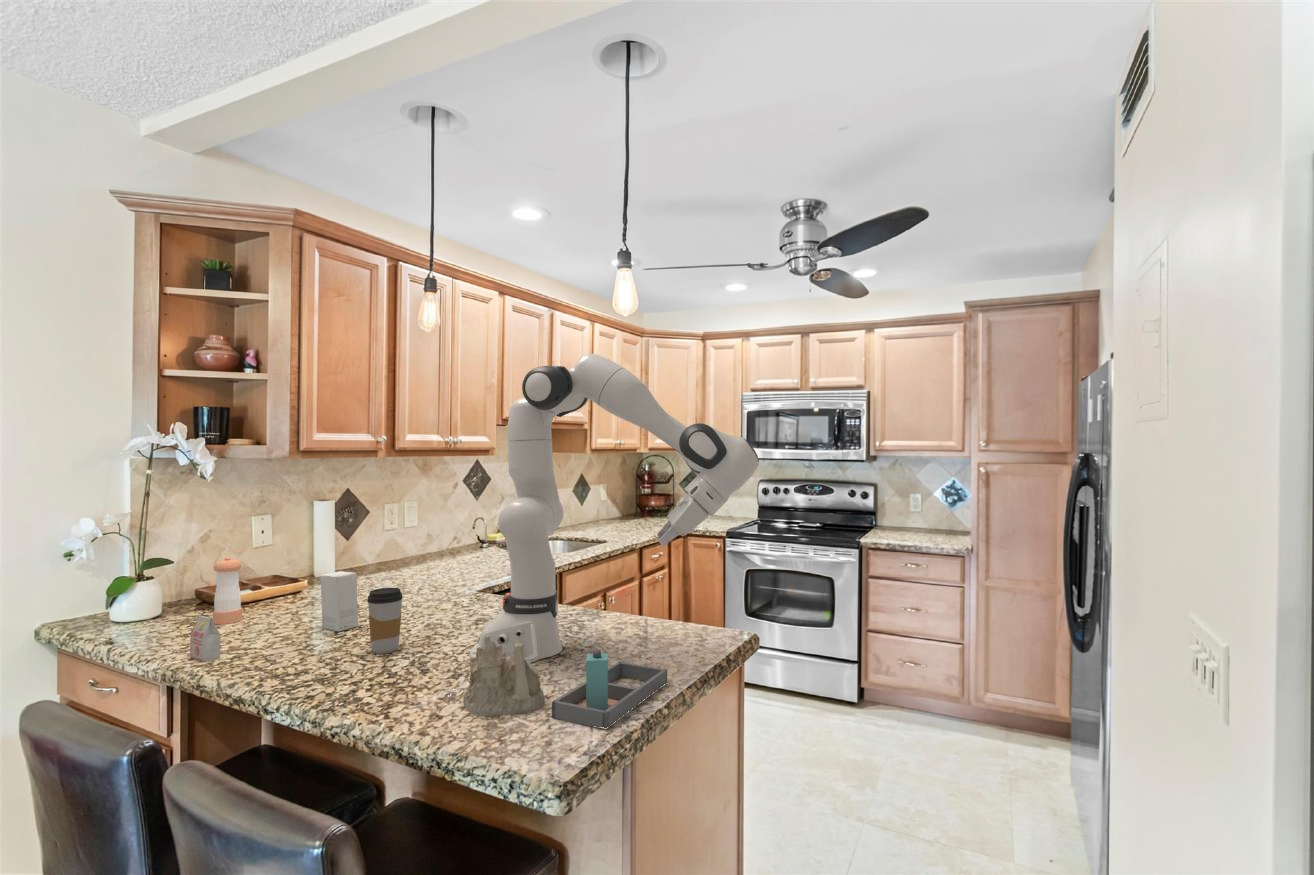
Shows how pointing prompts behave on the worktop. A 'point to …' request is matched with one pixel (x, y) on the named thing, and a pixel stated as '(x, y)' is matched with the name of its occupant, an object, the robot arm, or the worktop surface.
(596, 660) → the teal plug
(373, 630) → the coffee cup
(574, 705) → the slot frame
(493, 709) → the castle ruin ornament
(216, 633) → the gable top carton
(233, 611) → the salt shaker
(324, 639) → the worktop surface
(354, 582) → the skincare box
